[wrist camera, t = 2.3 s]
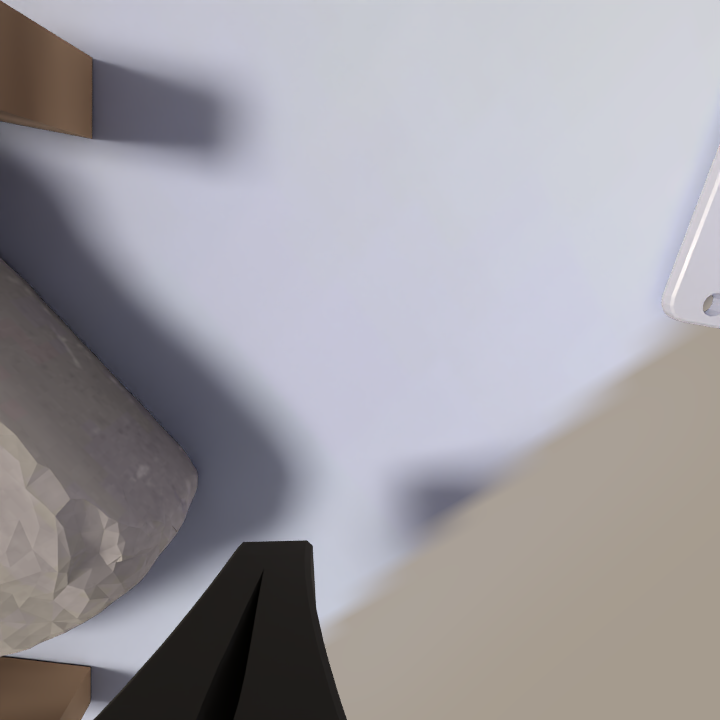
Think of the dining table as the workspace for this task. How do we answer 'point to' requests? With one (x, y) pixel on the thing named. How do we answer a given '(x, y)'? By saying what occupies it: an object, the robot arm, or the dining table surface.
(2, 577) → the stone block
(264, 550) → the robot arm
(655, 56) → the dining table surface
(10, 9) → the pair of wooden bars
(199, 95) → the dining table surface
